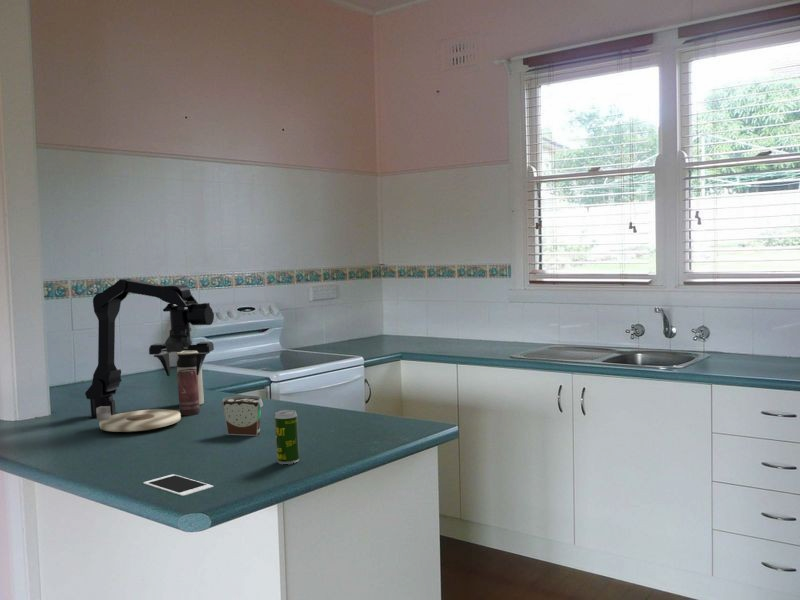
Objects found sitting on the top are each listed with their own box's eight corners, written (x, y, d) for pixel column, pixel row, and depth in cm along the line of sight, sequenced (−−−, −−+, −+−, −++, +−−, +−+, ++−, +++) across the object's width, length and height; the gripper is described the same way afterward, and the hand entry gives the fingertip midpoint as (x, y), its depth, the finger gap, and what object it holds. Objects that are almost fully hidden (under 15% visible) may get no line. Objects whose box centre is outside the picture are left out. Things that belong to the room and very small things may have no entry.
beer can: (289, 457, 193) (286, 408, 192) (304, 460, 190) (301, 411, 189) (272, 462, 189) (269, 413, 188) (287, 466, 186) (284, 415, 185)
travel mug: (207, 401, 270) (204, 349, 269) (199, 406, 263) (195, 352, 261) (184, 402, 271) (181, 350, 270) (175, 407, 263) (172, 353, 262)
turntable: (82, 433, 225) (81, 415, 225) (114, 415, 248) (113, 399, 248) (166, 430, 224) (165, 412, 224) (190, 412, 247) (189, 396, 247)
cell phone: (183, 498, 166) (182, 495, 166) (142, 485, 177) (142, 482, 177) (214, 488, 172) (214, 485, 172) (173, 476, 183) (173, 473, 183)
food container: (272, 430, 223) (270, 395, 222) (262, 436, 217) (260, 399, 216) (234, 429, 227) (232, 394, 226) (222, 434, 221) (220, 399, 220)
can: (195, 415, 248) (192, 371, 247) (176, 415, 250) (173, 371, 249) (203, 411, 254) (201, 368, 253) (185, 411, 255) (182, 368, 254)
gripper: (140, 329, 238) (144, 381, 239) (202, 327, 237) (205, 379, 238) (154, 325, 249) (157, 374, 250) (212, 323, 248) (215, 372, 249)
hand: (183, 375), depth 247 cm, fingers open, 9 cm apart
